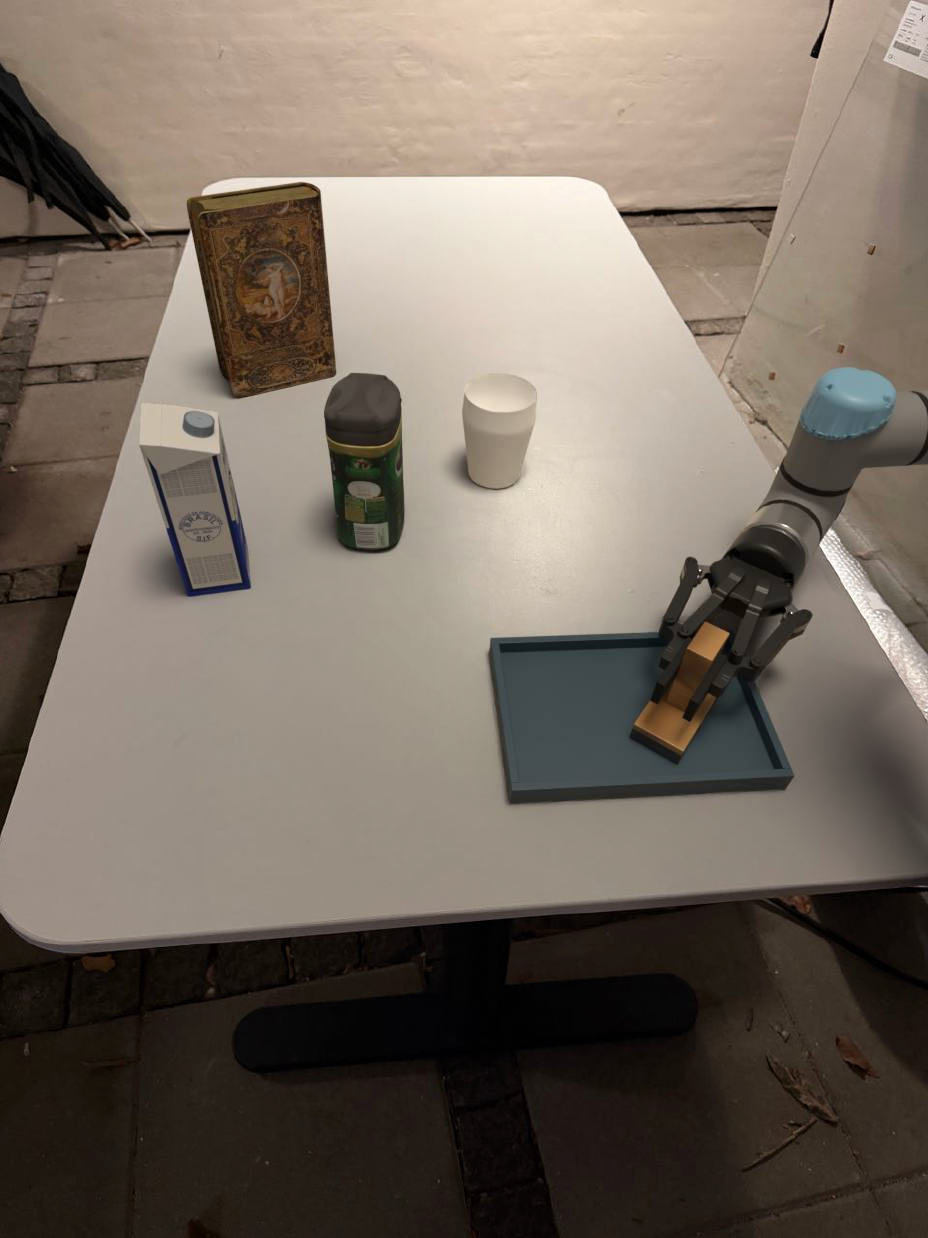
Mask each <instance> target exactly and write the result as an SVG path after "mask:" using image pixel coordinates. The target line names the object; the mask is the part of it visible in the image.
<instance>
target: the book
mask: <svg viewBox="0 0 928 1238" xmlns="http://www.w3.org/2000/svg"><path fill="white" fill-rule="evenodd" d="M322 202H323V201H322V191H321V189H320V188H319V187H318V186H316V185H315V184H312V183H310V182H306V181H305V182H304V181H298V182H290V183H284V184H276V185H268V186H259V187H255V188H247V189H240V190H233V191H232V190H231V191H227V192H226V191H225V192H219V193H218V192H217V193H211V194H204V195H203V194H202V195H197V196H190V197H188V198H187V200H186V210H187V215H188V220H189V225H190V230H191V236H192V241H193V245H194V250H195V255H196V260H197V264H198V265H197V266H198V269H199V275H200V280H201V285H202V290H203V294H204V295H203V296H204V299H205V300H204V301H205V304H206V309H207V313H208V319H209V324H210V328H211V329H210V330H211V333H212V338H213V343H214V348H215V352H216V357H217V362H218V368H219V371H220V374H221V376H222V377H223V379H224V380H226V381H229V386H230V389H231V392H232V394H233V395H234V396H235V397H236V398H244V397H249V396H255V395H259V394H264V393H268V392H273V391H277V390H282V389H286V388H289V387H293V386H294V387H295V386H299V385H303V384H308V383H310V382H315V381H320V380H323V379H329V378H332V377H335V376H336V374H337V363H336V353H335V350H336V349H335V339H334V329H333V328H334V327H333V317H332V305H331V293H330V284H329V283H330V282H329V271H328V261H327V260H328V259H327V250H326V238H325V237H326V236H325V226H324V214H323V213H324V212H323V203H322Z"/></svg>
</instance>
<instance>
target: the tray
mask: <svg viewBox="0 0 928 1238" xmlns="http://www.w3.org/2000/svg"><path fill="white" fill-rule="evenodd" d="M723 630H724V631H726V632H728V633H730V635H729V637H728V639H727V641H726V643H725V646H724V648H723V650H722V652H721V654H723V655H726V656H728V653H729V651H730V648H731V646H732V643H733V641H734V638H735V636H736V633H735V631H734V629H732V628H731V629H729V628H728V629H723ZM658 632H659V631H650V632H649V631H647V632H644V631H643V632H617V633H592V634H588V633H587V634H563V635H561V634H560V635H534V636H505V637H503V636H502V637H490V640H489V651H488V653H489V655H488V656H489V660H490V668H491V677H492V683H493V684H492V685H493V689H494V690H493V692H494V698H495V706H496V713H497V719H498V720H497V721H498V727H499V728H498V729H499V734H500V742H501V743H500V744H501V749H502V757H503V764H504V772H505V778H506V786H507V794H508V801H509V804H511V805H512V804H529V803H547V802H564V801H566V802H567V801H568V802H569V801H581V800H582V801H583V800H585V801H587V800H605V799H620V798H621V799H622V798H623V799H624V798H640V797H641V798H642V797H658V796H660V797H661V796H675V795H676V796H677V795H697V794H712V793H713V794H714V793H733V792H750V791H751V792H753V791H769V790H770V791H771V790H786V789H787V788H788V786H789V785H790V784H791V782H792V781H793V779H794V778H795V772H794V771H793V768H792V766H791V763H790V762H789V759H788V757H787V754H786V752H785V750H784V747H783V745H782V742H781V740H780V738H779V735H778V733H777V731H776V728H775V726H774V724H773V721H772V718H771V717H770V714H769V712H768V709H767V707H766V704H765V702H764V700H763V697H762V695H761V693H760V690H759V688H758V686H757V683H756V681H755V682H752V683H749V682H746V681H745V680H744V679H743V677H734V678H732V680H731V681H730V683H729V685H728V686H727V688H726V690H725V691H724V693H723V695H722V696H720V697H719V698H718V699H717V700H716V702H715V704H714V705H713V707H712V709H711V710H710V712H709V714H708V715H707V717H706V719H705V720H704V722H703V724H702V725H701V727H700V729H699V730H698V732H697V733H696V735H695V737H694V738H693V740H692V742H691V743H690V745H689V747H688V748H687V750H686V752H685V753H684V755H683V757H682V758H681V760H680V762H679V763H678V764H675V763H674V762H672V761H670V760H668V759H666V758H665V757H663V756H661V755H659V754H658V753H656V752H654V751H652V750H651V749H649V748H647V747H645V746H643V745H642V744H640V743H638V742H636V741H635V740H633V739H631V738H630V734H631V731H632V728H633V725H634V723H635V722H636V720H637V719H638V717H639V716H640V714H641V713H642V711H643V710H644V708H645V707H646V706H647V704H648V703H649V701H650V699H651V697H652V694H653V691H654V688H655V686H656V683H657V681H658V680H659V678H660V677H661V675H662V674H663V672H664V671H665V670H663V669H661V668H659V661H660V658H661V655H662V653H663V651H664V650H665V649H666V647H667V646H668V644H669V643H670V642H669V641H668V640H667V639H662V638H660V637H659V635H658Z"/></svg>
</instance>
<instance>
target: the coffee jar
mask: <svg viewBox="0 0 928 1238" xmlns="http://www.w3.org/2000/svg"><path fill="white" fill-rule="evenodd" d="M402 402H403V399H402V397H401V392H400V389H399V387H398V385H396V383H394V382H393V381H392V380H391V379H389V377H388V376H387V375H384V374H377V373H367V372H349V374H348V375H346V376H344V377H343V378H341V379H340V380H338V381H337V382H336V383H335V384H334V385H333V387H332V388H331V389H330V392H329V394H328V396H327V399H326V402H325V406H324V409H323V418H324V428H325V437H326V442H327V448H328V455H329V462H330V472H331V482H332V492H333V502H334V504H333V505H334V514H335V524H336V525H335V526H336V534H337V537H338V539H339V541H340V542H341V543H342V544H344V545H345V546H348V547H350V548H354V549H357V550H363V551H378V550H385V549H388V548H390V547H393V546H394V545H396V543H397V542H399V541H398V540H399V539H400V537H401V535H402V531H403V527H404V523H405V512H406V511H405V510H406V509H405V487H404V485H405V483H404V455H403V453H404V452H403V419H402V418H403V416H402V415H403V414H402V411H403V410H402Z"/></svg>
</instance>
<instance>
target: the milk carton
mask: <svg viewBox="0 0 928 1238" xmlns="http://www.w3.org/2000/svg"><path fill="white" fill-rule="evenodd" d="M221 425H222V424H221V421H220V416H219V412H218V411H212V410H206V409H201V408H194V407H187V406H180V405H174V404H167V403H151V402H141V403H140V421H139V433H138V446H139V448H140V452H141V454H142V459H143V461H144V465H145V468H146V470H147V474H148V476H149V480H150V484H151V487H152V489H153V492H154V496H155V499H156V502H157V505H158V508H159V511H160V514H161V518H162V521H163V523H164V524H163V525H164V526H165V530H166V534H167V537H168V539H169V540H168V541H169V542H170V545H171V550H172V552H173V555H174V558H175V561H176V564H177V567H178V571H179V574H180V577H181V580H182V582H183V587H184V589H185V592H186V595H187V597H188V598H190V597H197V596H204V595H205V596H206V595H211V594H212V595H213V594H220V593H226V592H234V591H242V590H248V589H249V590H250V589H252V583H251V571H250V570H251V569H250V558H249V547H248V542H247V537H246V533H245V529H244V523H243V520H242V516H241V515H242V514H241V511H240V506H239V502H238V498H237V493H236V489H235V483H234V479H233V475H232V471H231V466H230V461H229V458H228V451H227V448H226V443H225V438H224V434H223V430H222V426H221Z"/></svg>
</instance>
